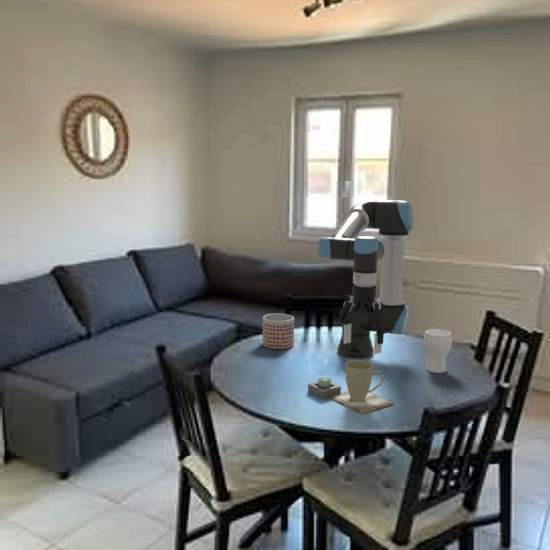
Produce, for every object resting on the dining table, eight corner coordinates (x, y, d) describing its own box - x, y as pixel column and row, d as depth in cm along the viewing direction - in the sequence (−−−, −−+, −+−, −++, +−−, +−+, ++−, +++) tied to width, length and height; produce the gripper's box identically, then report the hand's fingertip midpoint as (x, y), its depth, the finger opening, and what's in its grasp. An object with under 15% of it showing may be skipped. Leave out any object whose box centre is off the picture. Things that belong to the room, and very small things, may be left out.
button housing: (307, 392, 198) (308, 383, 197) (325, 387, 202) (326, 379, 202) (322, 399, 191) (322, 391, 191) (340, 394, 196) (340, 386, 195)
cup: (451, 375, 215) (454, 337, 213) (422, 373, 217) (424, 335, 215) (448, 366, 226) (451, 329, 223) (421, 364, 228) (423, 327, 225)
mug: (356, 407, 183) (358, 371, 181) (338, 396, 192) (340, 362, 190) (383, 401, 189) (385, 366, 186) (365, 390, 197) (366, 357, 195)
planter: (293, 350, 244) (294, 321, 241) (262, 349, 244) (262, 320, 241) (293, 340, 257) (293, 313, 255) (263, 340, 257) (263, 313, 255)
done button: (315, 386, 197) (315, 378, 196) (325, 384, 199) (325, 376, 199) (323, 390, 193) (323, 382, 193) (333, 388, 196) (333, 380, 195)
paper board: (329, 397, 193) (329, 395, 193) (359, 389, 201) (360, 387, 200) (361, 414, 180) (361, 412, 180) (393, 404, 188) (393, 402, 188)
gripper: (329, 279, 191) (327, 340, 194) (386, 292, 171) (383, 360, 175) (345, 277, 195) (343, 337, 199) (402, 289, 176) (399, 355, 180)
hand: (361, 347), depth 187 cm, fingers open, 13 cm apart
